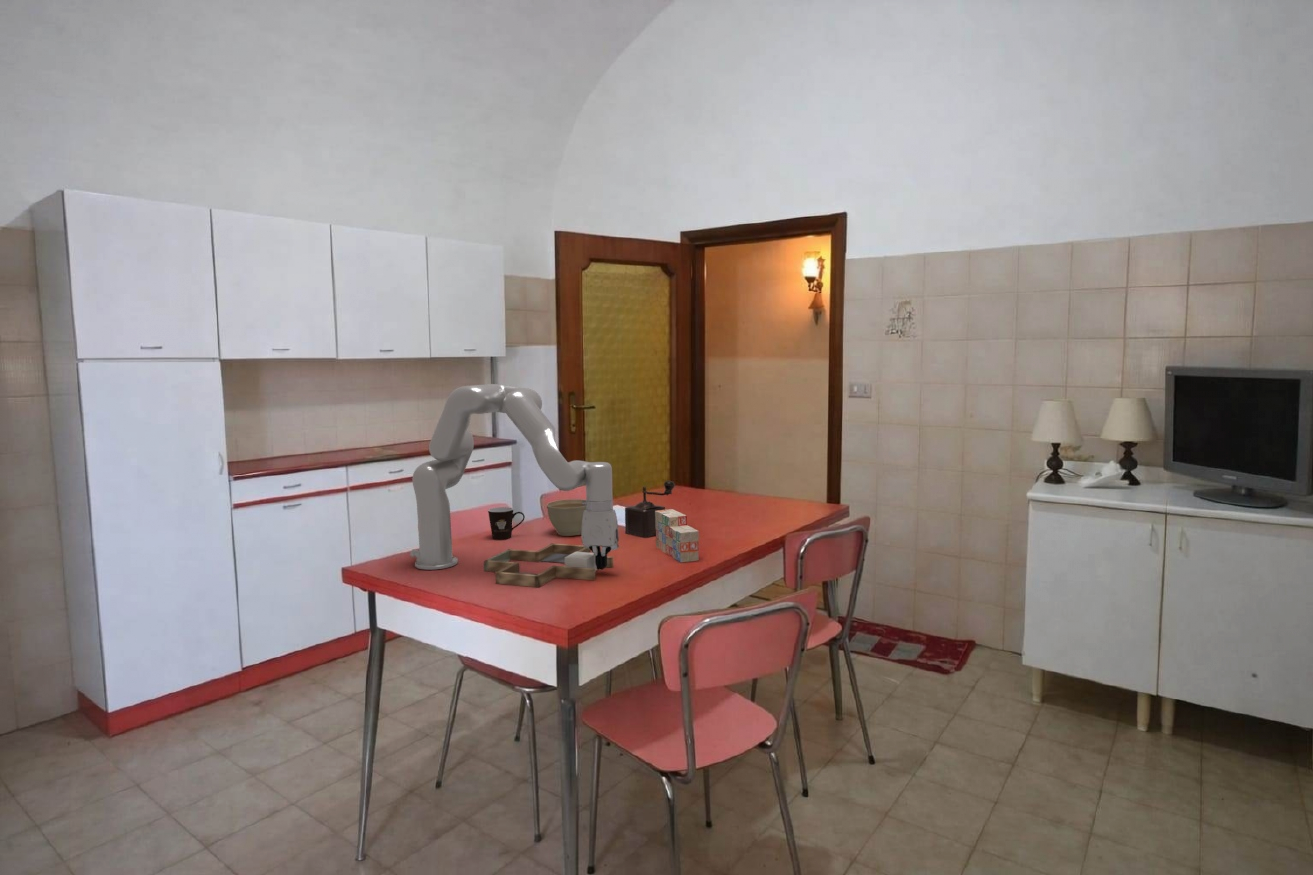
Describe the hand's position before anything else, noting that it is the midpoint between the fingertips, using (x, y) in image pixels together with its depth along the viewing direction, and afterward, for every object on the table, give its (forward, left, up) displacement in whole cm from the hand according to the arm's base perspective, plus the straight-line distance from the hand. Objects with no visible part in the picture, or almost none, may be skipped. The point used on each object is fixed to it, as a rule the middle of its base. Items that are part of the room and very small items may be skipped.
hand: (601, 568), depth 223 cm
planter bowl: (-30, +43, -2) cm, 53 cm away
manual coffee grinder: (-3, +52, -2) cm, 52 cm away
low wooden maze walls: (-17, 0, -1) cm, 17 cm away
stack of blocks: (+14, +27, -2) cm, 30 cm away
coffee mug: (-49, +31, -2) cm, 58 cm away
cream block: (-6, 0, -2) cm, 6 cm away
